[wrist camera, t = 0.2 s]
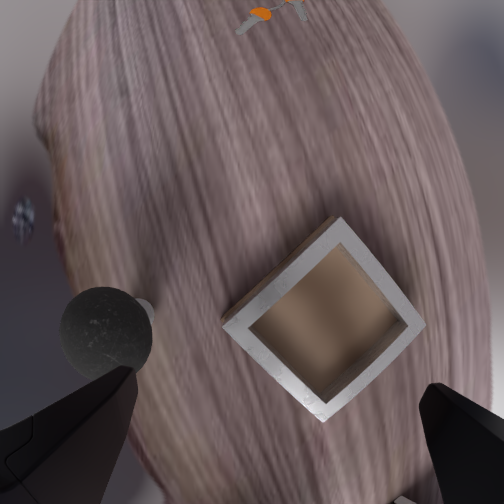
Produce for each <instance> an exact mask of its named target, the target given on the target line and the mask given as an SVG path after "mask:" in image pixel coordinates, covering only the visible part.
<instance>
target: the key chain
mask: <svg viewBox="0 0 504 504" xmlns="http://www.w3.org/2000/svg"><path fill="white" fill-rule="evenodd" d="M284 2H288V3H290V4H293V6H294V8H295V10H296V12H297V14H298V16H299V18H300V20H301V21H306V20H308V19H307V17H306V14H307V13H305V12H304V11H306V10H305V9H304V8H302V7H303V4H301V3H302V2H304V0H283V2H282V3H281V4H280V5H278V6H276V7H274V8H270V9H266V8H262V7H260V8H255V9H253V10H251V12H250V13H249V14H251V17H248V19H247V20H248V21H245V22H242V23H243V25H240V26H241V27H240V28H239V29H235V30H236V31H235V32H236V33H237V34H238V35H243V34H244V33H245V32H246V31H247V30H248V29H249V28H250V27H252V26H253V25H254V24H255V23H256V22H258V21H267V20H269V19H270V18H271V16H272V14H271V10H275V9H278V8H279V7H282V6H283V5H284V4H285V3H284Z"/></svg>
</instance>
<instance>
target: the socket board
mask: <svg viewBox="0 0 504 504" xmlns="http://www.w3.org/2000/svg"><path fill="white" fill-rule="evenodd" d="M332 219H335V217H334V216H333V215H332V216H330V217H328V218H327V219H326V220H325V221H324V222H323V223H322V224H321V225H320V226H319V227H318V228H317V229H316V230H315V231H314V232H313V233H312V234H311V235H310V236H308V237H307V238H306V239H305V240H304V241H303V242H302V243H301V244H300V245H299V246H298V247H297V248H296V249H295V250H294V251H293V252H292V253H290V254H289V255H288V256H287V257H286V258H285V259H284V260H283V261H282V262H281V263H280V264H279V265H278V266H277V267H275V268H274V269H273V270H272V271H271V272H270V273H269V274H268V275H267V276H266V277H265V278H264V279H262V280H261V281H260V282H259V283H258V284H257V285H256V286H255V287H254V288H253V289H252V290H251V291H249V292H248V293H247V294H246V295H245V296H244V297H243V298H242V299H241V300H240V301H238V302H237V303H236V304H235V305H234V306H233V307H232V308H231V309H230V310H229V311H227V312H226V313H225V314H224V315H223V316H222V317H221V319H220V320H221V321H222V322H224V320H225V319H226V318H227V317H228V316H229V315H230V314H232V313H233V312H234V311H235V310H236V309H237V308H238V307H239V306H240V305H242V304H243V303H244V302H245V301H246V300H247V299H248V298H249V297H250V296H251V295H253V294H254V293H255V292H256V291H257V290H258V289H259V288H260V287H261V286H262V285H263V284H265V283H266V282H267V281H268V280H269V279H270V278H271V277H272V276H273V275H274V274H275V273H276V272H277V271H279V270H280V269H281V268H282V267H283V266H284V265H285V264H286V263H287V262H288V261H289V260H290V259H291V258H292V257H294V256H295V255H296V254H297V253H298V252H299V251H300V250H301V249H302V248H303V247H304V246H305V245H306V244H307V243H308V242H309V241H310V240H312V239H313V238H314V237H315V236H316V235H317V234H318V233H319V232H320V231H321V230H322V229H323V228H324V227H325V226H326V225H327V224H328V223H329V222H330V221H331V220H332ZM396 321H397V320H396V318H395V317H394V316H393V315H392V313H391V312H390V311H389V310H388V308H387V307H386V306H385V305H384V303H383V302H382V301H381V300H380V298H379V297H378V296H377V295H376V294H375V292H374V291H373V290H372V289H371V287H370V286H369V285H368V284H367V283H366V281H365V280H364V279H363V278H362V277H361V275H360V274H359V273H358V272H357V271H356V269H355V268H354V267H353V266H352V265H351V263H350V262H349V261H348V260H347V259H346V258H345V256H344V255H343V254H342V253H341V252H340V251H339V250H338V248H337V247H336V246H335V247H334V248H333V249H332V250H331V251H330V252H329V253H328V254H327V255H326V256H325V257H324V258H323V259H322V260H321V261H320V262H319V263H318V264H317V265H316V266H315V267H314V268H313V269H311V270H310V271H309V272H308V273H307V274H306V275H305V276H304V277H303V278H302V279H301V280H300V281H299V282H298V283H297V284H296V285H295V286H293V287H292V288H291V289H290V290H289V291H288V292H287V293H286V294H285V295H284V296H283V297H282V298H280V299H279V300H278V301H277V302H276V303H275V304H274V305H273V306H272V307H271V308H270V309H268V310H267V311H266V312H265V313H264V314H263V315H262V316H261V317H260V318H258V319H257V320H256V321H255V322H254V323H253V324H252V326H253V327H254V328H255V329H256V330H257V331H258V332H259V333H260V334H261V335H262V336H263V338H264V339H265V340H266V341H267V342H268V343H269V344H270V345H271V346H272V347H273V348H274V349H275V350H276V351H277V352H278V353H279V354H280V355H281V356H282V357H283V358H284V359H285V360H286V361H287V362H289V363H290V364H291V365H292V366H293V367H294V368H295V369H296V370H297V371H298V372H299V373H300V374H301V375H302V376H303V377H304V378H305V379H306V380H307V381H308V382H309V383H310V384H311V385H312V386H313V387H314V388H315V389H316V390H317V391H318V392H320V393H321V392H322V391H323V390H324V389H325V388H327V387H328V386H329V385H330V384H331V383H332V382H334V381H335V380H336V379H337V378H338V377H339V376H340V375H342V374H343V373H344V372H345V371H346V370H347V369H348V368H349V367H350V366H351V365H353V364H354V363H355V362H356V361H357V360H358V359H359V358H360V357H361V356H362V355H363V354H364V353H365V352H366V351H367V350H368V349H369V348H370V347H371V346H373V345H374V344H375V343H376V342H377V341H378V340H379V339H380V338H381V337H382V336H383V335H384V334H385V332H386V331H387V330H388V329H389V328H390V327H391V326H392V325H393V324H394V323H395V322H396Z"/></svg>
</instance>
